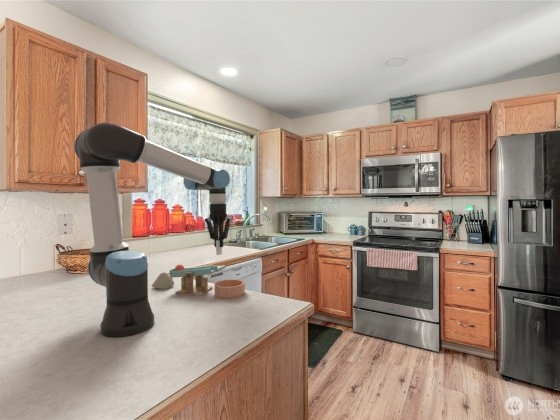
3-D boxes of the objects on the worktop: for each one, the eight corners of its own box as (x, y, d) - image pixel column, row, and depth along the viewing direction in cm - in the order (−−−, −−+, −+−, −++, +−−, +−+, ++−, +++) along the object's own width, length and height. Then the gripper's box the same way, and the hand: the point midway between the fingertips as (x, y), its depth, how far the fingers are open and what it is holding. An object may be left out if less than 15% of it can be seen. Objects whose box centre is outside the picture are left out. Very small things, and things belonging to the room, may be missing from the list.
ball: (182, 272, 129) (179, 264, 130) (174, 275, 130) (171, 266, 131) (187, 270, 133) (184, 262, 134) (179, 273, 134) (177, 265, 135)
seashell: (178, 282, 137) (163, 276, 132) (167, 296, 137) (151, 291, 132) (175, 272, 143) (160, 266, 139) (164, 286, 144) (149, 280, 139)
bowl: (237, 299, 118) (237, 288, 118) (209, 297, 121) (209, 286, 121) (248, 290, 130) (248, 280, 130) (222, 288, 134) (222, 278, 134)
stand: (200, 295, 123) (199, 274, 123) (175, 293, 126) (175, 272, 126) (212, 288, 134) (212, 268, 134) (189, 286, 137) (189, 267, 137)
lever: (212, 274, 124) (210, 266, 124) (170, 277, 129) (169, 270, 130) (226, 267, 138) (225, 260, 138) (187, 270, 143) (187, 263, 143)
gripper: (234, 202, 136) (235, 253, 137) (209, 203, 139) (210, 252, 140) (227, 203, 129) (228, 256, 130) (200, 203, 132) (202, 255, 133)
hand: (219, 254), depth 135 cm, fingers closed
